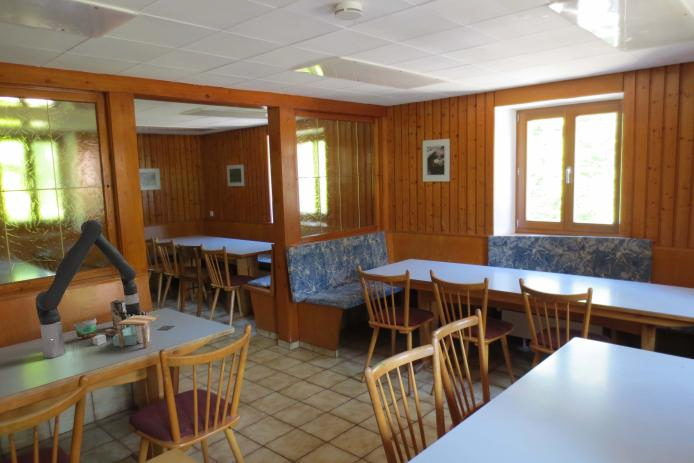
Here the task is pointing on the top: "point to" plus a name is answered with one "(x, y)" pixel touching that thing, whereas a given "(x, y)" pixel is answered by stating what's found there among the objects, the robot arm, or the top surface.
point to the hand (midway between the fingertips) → (135, 329)
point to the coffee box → (117, 312)
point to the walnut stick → (111, 332)
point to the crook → (126, 337)
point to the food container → (86, 329)
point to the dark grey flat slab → (165, 328)
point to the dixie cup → (139, 332)
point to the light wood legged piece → (136, 320)
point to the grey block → (99, 339)
